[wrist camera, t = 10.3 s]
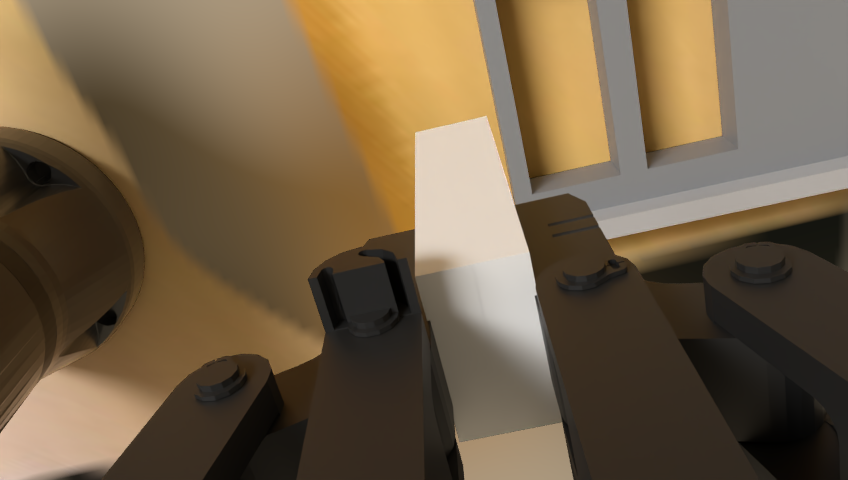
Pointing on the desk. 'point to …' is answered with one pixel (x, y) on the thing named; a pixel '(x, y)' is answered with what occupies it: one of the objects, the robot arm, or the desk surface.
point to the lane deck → (740, 118)
